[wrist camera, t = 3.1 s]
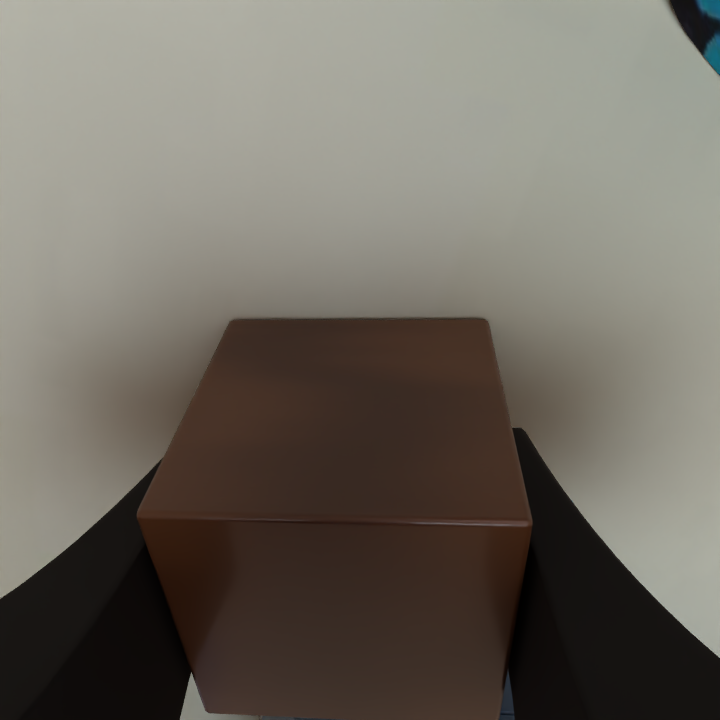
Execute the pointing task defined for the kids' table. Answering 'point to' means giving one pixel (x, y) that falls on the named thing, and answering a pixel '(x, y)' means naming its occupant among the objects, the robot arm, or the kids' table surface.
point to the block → (345, 522)
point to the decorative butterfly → (701, 26)
